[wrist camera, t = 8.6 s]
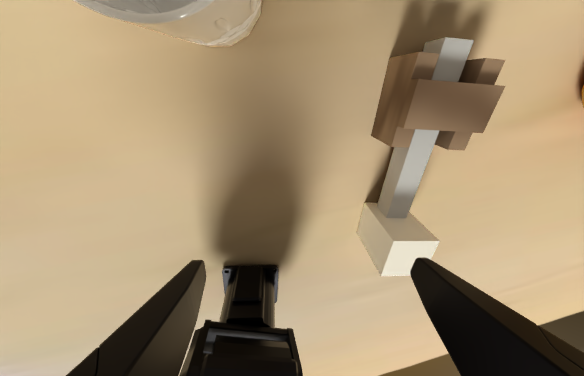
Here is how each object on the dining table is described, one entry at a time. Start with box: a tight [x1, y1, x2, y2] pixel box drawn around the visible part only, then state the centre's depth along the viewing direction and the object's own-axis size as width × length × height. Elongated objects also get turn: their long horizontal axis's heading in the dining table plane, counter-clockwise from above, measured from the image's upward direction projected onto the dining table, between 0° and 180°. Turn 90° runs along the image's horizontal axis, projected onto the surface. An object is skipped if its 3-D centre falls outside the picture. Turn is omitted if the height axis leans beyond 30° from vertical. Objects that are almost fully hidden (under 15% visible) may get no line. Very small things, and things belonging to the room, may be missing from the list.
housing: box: [371, 52, 505, 150], centre depth 14 cm, size 14×7×4 cm, turn 176°
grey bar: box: [357, 37, 474, 276], centre depth 17 cm, size 18×4×6 cm, turn 176°
